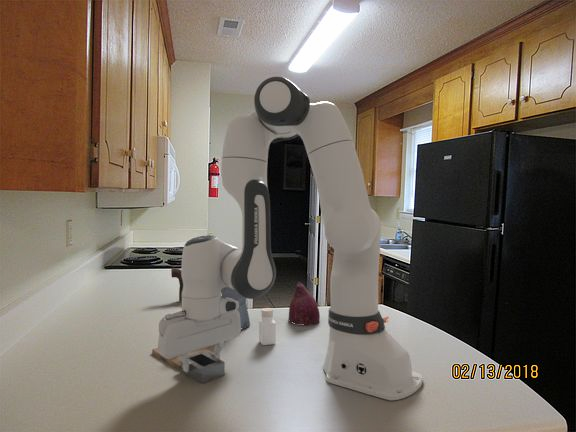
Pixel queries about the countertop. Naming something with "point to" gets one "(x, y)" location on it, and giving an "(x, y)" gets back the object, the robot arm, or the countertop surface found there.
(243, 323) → the moka pot
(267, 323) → the pepper shaker
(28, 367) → the countertop surface
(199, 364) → the link
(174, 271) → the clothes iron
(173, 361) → the keeper
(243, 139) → the robot arm
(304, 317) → the vegetable
